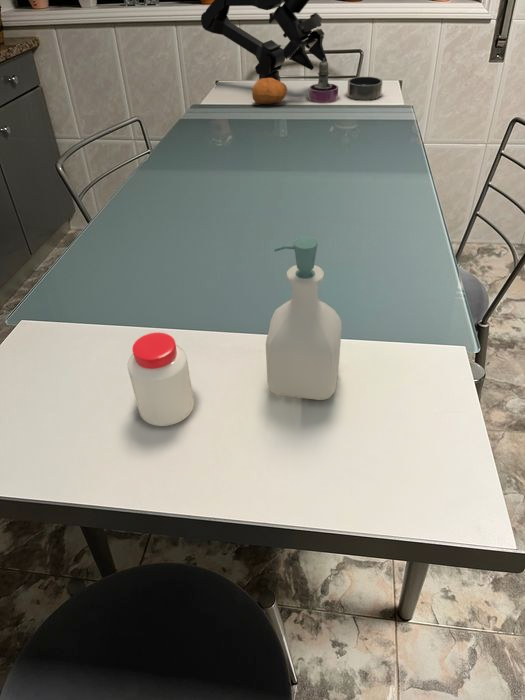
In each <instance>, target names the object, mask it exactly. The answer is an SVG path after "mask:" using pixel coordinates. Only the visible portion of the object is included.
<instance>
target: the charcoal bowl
mask: <svg viewBox="0 0 525 700" xmlns="http://www.w3.org/2000/svg"><path fill="white" fill-rule="evenodd" d="M346 91H347V93H346V94H347V97H349V98H350V99H352V100H357V101H370V100H376V99H378V98H380V97H381V96H382V91H383V80H382V78H379V77H374V76H355V77H352V78H350V79H348V80H347V90H346Z"/></svg>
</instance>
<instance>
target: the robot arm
mask: <svg viewBox="0 0 525 700" xmlns="http://www.w3.org/2000/svg"><path fill="white" fill-rule="evenodd" d="M309 2H310V0H213V1H212V2H211V3H210V4H209V6H208V7H207V8H206V9H205V11H204V12H202V14H201V16H200V23H201V27H202V29H203V30H204V31H206V32H209V33H211V34H215V35H221V36H224V37H225V38H227V39H228V40H230V41H231V42H233V43H235V44H236V45H237V46H239V47H241V48H243V49H244V50H245V51H247V52H249V53H250V54H252V55H254V57H255V58H256V60H257V62H258V63H257V64H256V65H255V67H254V69H255V72H256V74H257V75H258V80H260V79H262V78H273V79H275V80H278V81H280V82H281V76H280V70H282V67H283V64H284V63H285V61H286V60H289V61H292V62H294V63H297V64H299V65H300V66H303V67H305V68H307V69H309V70H310V71H313V70H314V68H315V67H314V64H313V62H312V61H311V59H310V57H309V56H308V54H307V52H306V49H308V52H309V53H310V54H311V55H313V56H314V57H315V58H317V59H318V60H319V61H320V62H321V61H323V58H325V61H327V62H328V59H327V56H326V53H325V50H324V47H323V41H324V39H325V37H324V36H325V32H324V31H323V29H322V28H321V27H322V19H323V18H322V17H321V16H320V14H318V12H315V13H313V14H310V16H309V18H308V19H306V20H304V19H303V18H298V17H297V15H296V14H300V13H301V12H302V11H303V9H304V8H305V7H306V6H307V4H308V3H309ZM230 7H255V8H257V9H258V10H259V9H260V10H264V11H270V10H273V9H275V11H274V12H270V13H269V19H268V23H269V24H272V23H273V24H274V23H277V25H278V26H279V28H280V29H281V30H282V32H283V34H282V37H283V38H288V40H289V41H288V43H287V44H286V45H285V47H284V48H282V45H281V44H278V43H276V42H275V41H274V40H272V39H270V40H268V41H265V42H263V41H261V40H260V39H258V38H256V37H255V36H253V35H251V34H250V33H248V32H247V31H246V30H244V29H242V28H240V27H239V26H237V25H236V24H234V23H233V22H231V21H230V18H229V16H228V15H229V11H230Z"/></svg>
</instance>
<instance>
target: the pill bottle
mask: <svg viewBox="0 0 525 700" xmlns="http://www.w3.org/2000/svg"><path fill="white" fill-rule="evenodd" d="M131 351H132V354H131V355H130V357H129V358H128V362H127V371H128V375H129V378H130V383H131V387H132V390H133V394H134V398H135V402H136V406H137V411H138V413H139V416H140V417H141V419H142V420H143V421H144V422H145V423H148V424H150V425H152V426H157V427H167V426H172V425H175V424H178V423H180V422H182V421H183V420H185V419H186V418H187V417H189V415H190V414H191V413H192V412H193V409H194V407H195V400H194V394H193V393H194V391H193V388H192V387H193V386H192V381H191V376H190V375H191V374H190V369H189V362H188V357H187V354H186V351H185V350H184V349H183V348H182V347H180V346H179V345H178V344H176V340H175V338H174V337H173V336H172V335H170V334H168V333H164V332H151V333H147V334H143V335H142V336H140V337H139V338H137V339H136V340H135V342H134V343H133V344H132V350H131Z"/></svg>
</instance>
